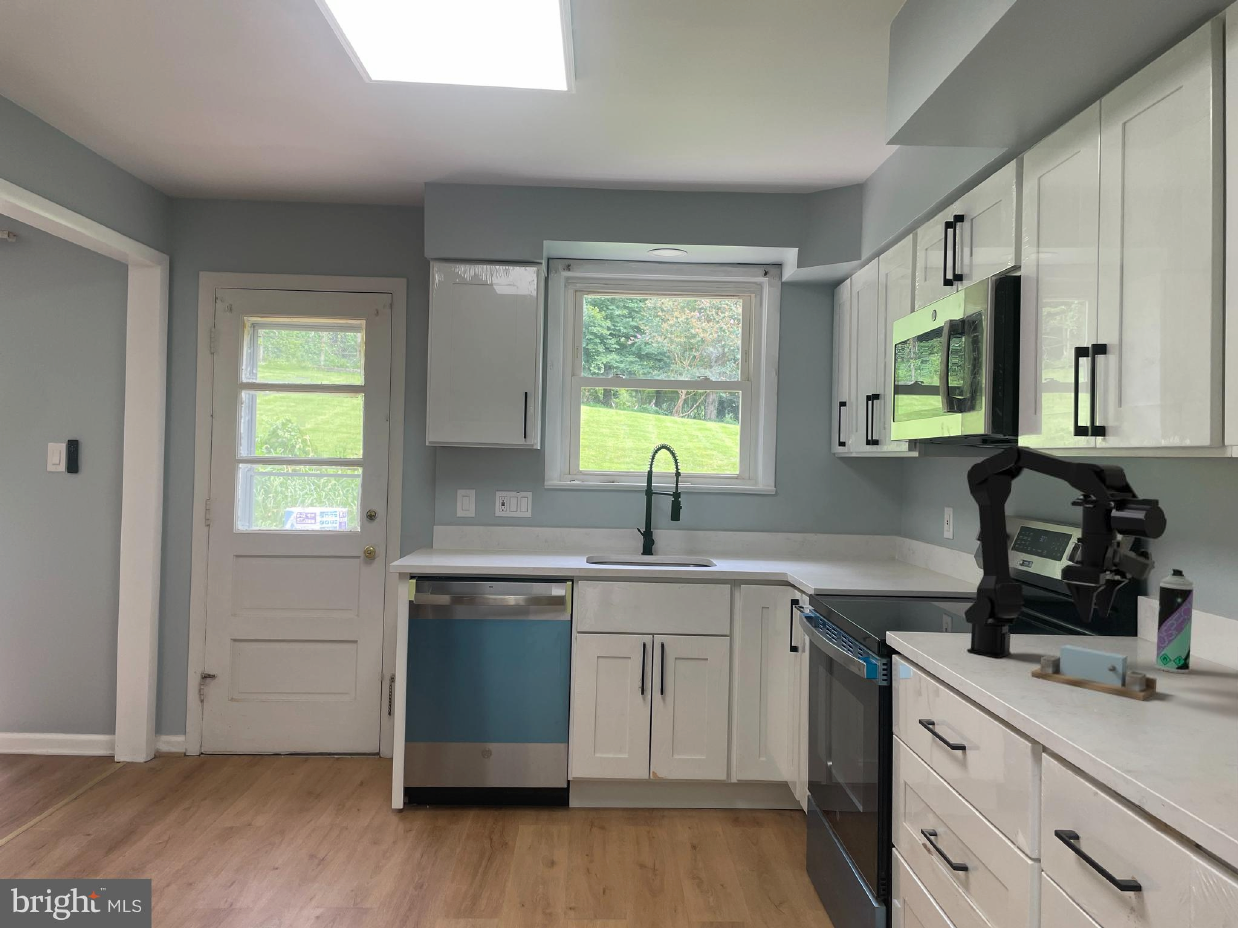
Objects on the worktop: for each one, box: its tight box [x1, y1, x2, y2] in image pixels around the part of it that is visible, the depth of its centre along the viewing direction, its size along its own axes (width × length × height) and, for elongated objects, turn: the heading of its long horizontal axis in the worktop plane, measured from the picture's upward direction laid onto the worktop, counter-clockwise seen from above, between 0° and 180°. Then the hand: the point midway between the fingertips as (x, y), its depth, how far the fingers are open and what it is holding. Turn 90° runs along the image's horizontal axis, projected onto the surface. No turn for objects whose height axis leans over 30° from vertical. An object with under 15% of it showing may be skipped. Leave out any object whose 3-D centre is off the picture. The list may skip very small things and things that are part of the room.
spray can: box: [1155, 568, 1194, 674], centre depth 162 cm, size 6×6×20 cm
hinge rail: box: [1030, 654, 1157, 701], centre depth 148 cm, size 18×8×4 cm, turn 43°
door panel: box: [1059, 644, 1128, 687], centre depth 148 cm, size 10×4×5 cm, turn 44°
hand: (1095, 618), depth 148 cm, fingers open, 9 cm apart
